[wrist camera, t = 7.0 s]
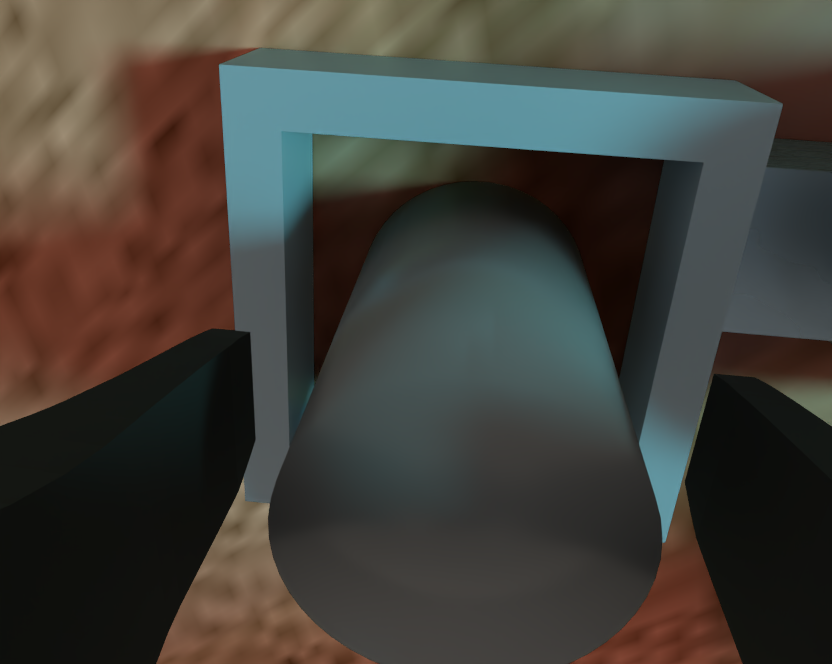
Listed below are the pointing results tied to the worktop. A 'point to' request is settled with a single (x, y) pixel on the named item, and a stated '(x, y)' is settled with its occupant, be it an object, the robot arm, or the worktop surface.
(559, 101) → the light blue shallow tray
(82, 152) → the worktop surface
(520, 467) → the dark grey rounded cylinder
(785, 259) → the motor
